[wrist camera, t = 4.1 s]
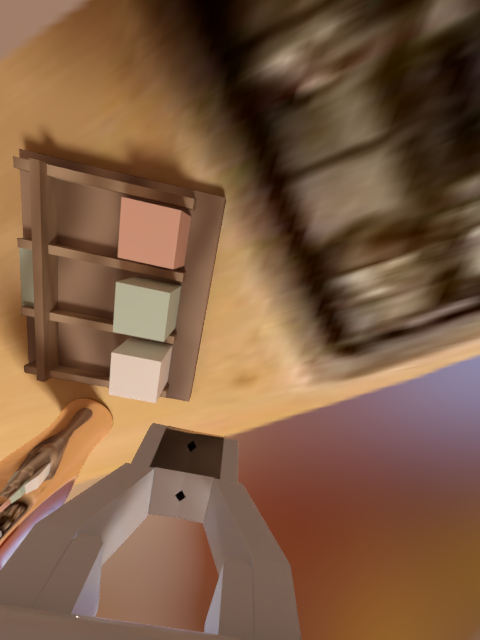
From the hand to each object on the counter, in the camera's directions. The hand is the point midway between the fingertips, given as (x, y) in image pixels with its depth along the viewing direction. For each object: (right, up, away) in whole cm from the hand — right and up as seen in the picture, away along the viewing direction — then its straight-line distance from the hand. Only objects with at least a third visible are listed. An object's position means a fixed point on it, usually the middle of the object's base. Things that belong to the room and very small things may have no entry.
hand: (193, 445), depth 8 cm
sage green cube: (-7, +6, +16) cm, 18 cm away
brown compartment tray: (-11, +7, +17) cm, 21 cm away
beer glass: (-17, -8, +22) cm, 29 cm away
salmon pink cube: (-6, +12, +14) cm, 19 cm away
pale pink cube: (-8, 0, +18) cm, 20 cm away
